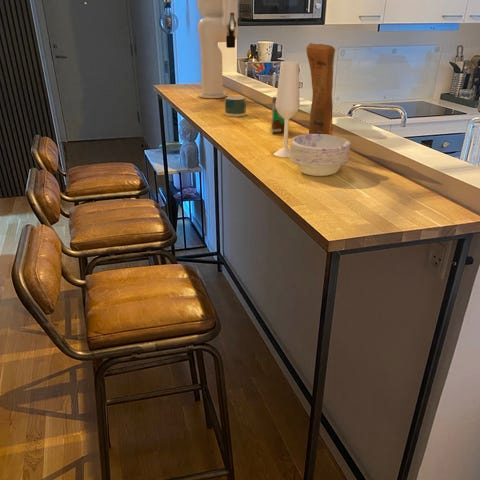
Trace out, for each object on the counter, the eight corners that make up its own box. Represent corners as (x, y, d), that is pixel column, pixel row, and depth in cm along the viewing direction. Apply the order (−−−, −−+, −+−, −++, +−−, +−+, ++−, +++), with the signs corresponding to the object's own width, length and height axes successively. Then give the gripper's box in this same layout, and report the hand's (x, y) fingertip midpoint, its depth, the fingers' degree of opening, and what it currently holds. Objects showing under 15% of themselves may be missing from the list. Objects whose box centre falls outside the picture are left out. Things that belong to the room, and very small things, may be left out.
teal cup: (226, 100, 189) (226, 116, 192) (247, 99, 190) (247, 116, 193) (223, 96, 196) (224, 112, 199) (244, 96, 197) (243, 112, 200)
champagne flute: (298, 152, 148) (304, 61, 135) (294, 158, 143) (300, 63, 130) (276, 150, 150) (280, 60, 137) (271, 156, 144) (274, 63, 131)
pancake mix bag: (314, 157, 143) (323, 46, 128) (299, 141, 159) (305, 41, 144) (336, 156, 144) (348, 46, 129) (319, 141, 160) (328, 41, 145)
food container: (291, 135, 166) (293, 103, 161) (272, 135, 166) (273, 102, 161) (288, 127, 177) (290, 96, 171) (271, 127, 177) (272, 96, 171)
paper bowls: (333, 183, 123) (336, 150, 118) (278, 173, 130) (280, 142, 125) (355, 168, 134) (359, 138, 129) (304, 160, 140) (306, 130, 136)
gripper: (218, -10, 190) (219, 45, 201) (222, -9, 178) (223, 49, 188) (238, -9, 191) (237, 45, 201) (243, -9, 179) (242, 49, 189)
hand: (230, 47), depth 195 cm, fingers closed
